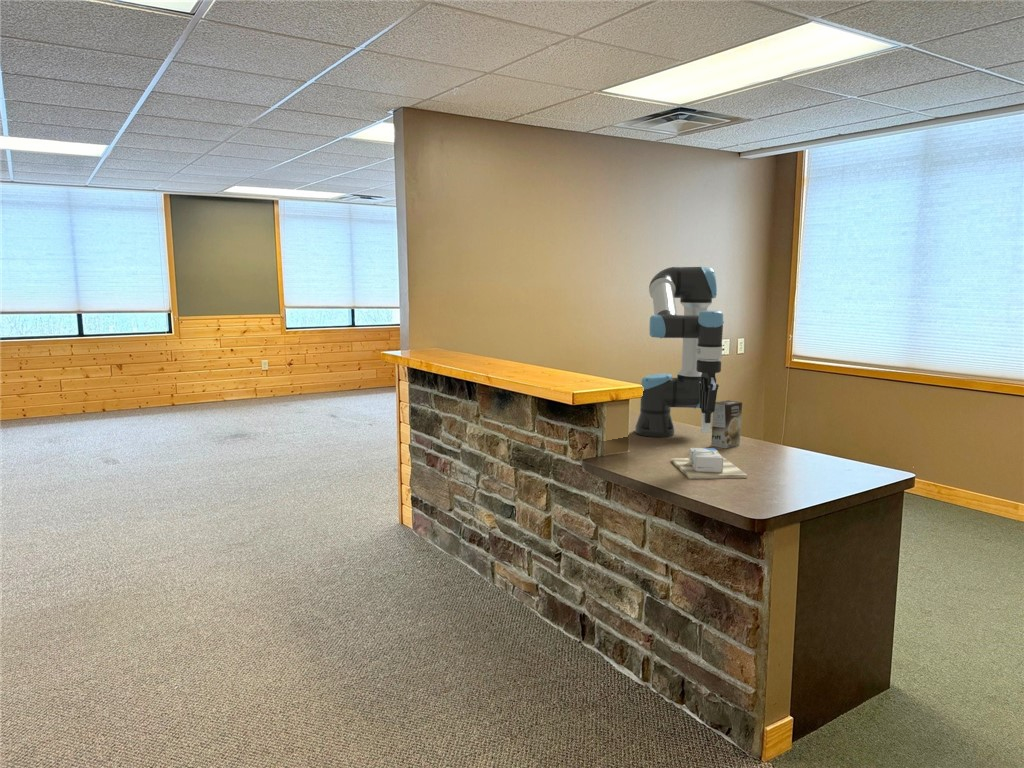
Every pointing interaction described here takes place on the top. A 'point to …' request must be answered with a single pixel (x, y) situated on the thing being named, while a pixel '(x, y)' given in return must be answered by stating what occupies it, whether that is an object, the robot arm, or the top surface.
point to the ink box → (706, 460)
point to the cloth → (689, 471)
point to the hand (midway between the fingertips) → (705, 432)
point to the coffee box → (726, 424)
